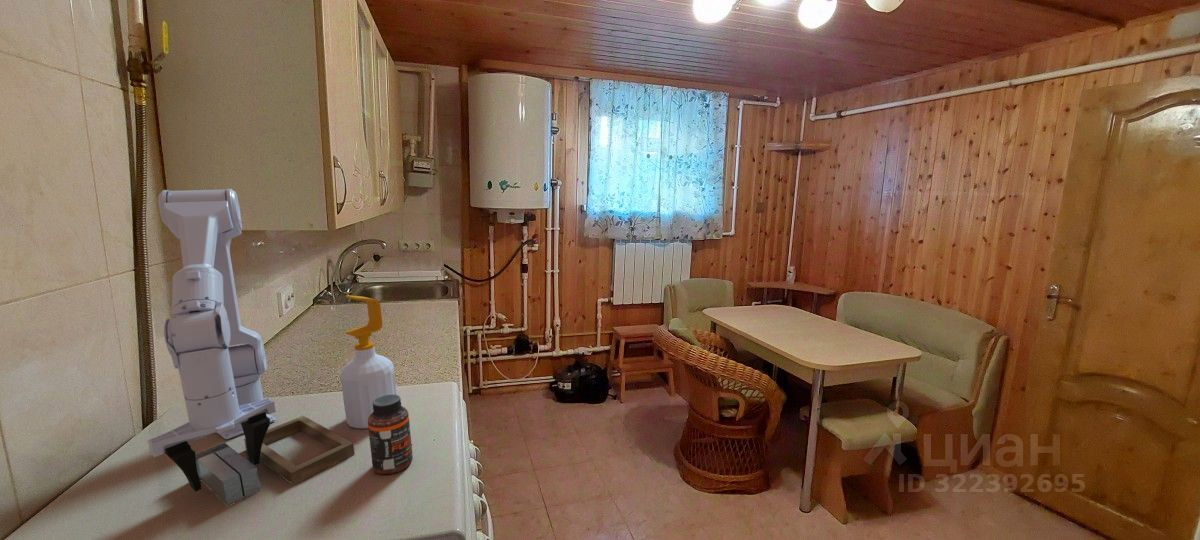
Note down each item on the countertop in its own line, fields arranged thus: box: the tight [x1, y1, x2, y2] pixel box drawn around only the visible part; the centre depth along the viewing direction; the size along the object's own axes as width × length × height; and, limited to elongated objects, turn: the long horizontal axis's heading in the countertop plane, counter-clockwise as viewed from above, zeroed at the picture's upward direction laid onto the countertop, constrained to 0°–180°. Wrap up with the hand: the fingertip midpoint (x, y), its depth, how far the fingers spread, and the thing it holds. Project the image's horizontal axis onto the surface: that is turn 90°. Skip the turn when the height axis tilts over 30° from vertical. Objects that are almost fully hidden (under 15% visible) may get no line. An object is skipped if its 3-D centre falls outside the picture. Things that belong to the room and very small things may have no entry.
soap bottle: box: [339, 294, 398, 429], centre depth 87 cm, size 9×9×25 cm
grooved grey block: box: [195, 442, 261, 507], centre depth 70 cm, size 12×4×4 cm, turn 56°
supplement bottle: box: [367, 394, 413, 475], centre depth 73 cm, size 6×6×11 cm
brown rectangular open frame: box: [243, 415, 356, 486], centre depth 78 cm, size 17×9×2 cm, turn 56°
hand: (226, 474), depth 70 cm, fingers open, 7 cm apart
